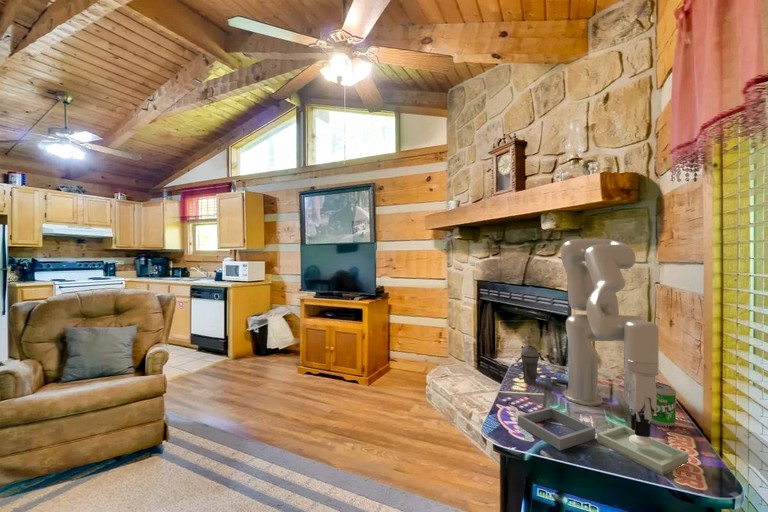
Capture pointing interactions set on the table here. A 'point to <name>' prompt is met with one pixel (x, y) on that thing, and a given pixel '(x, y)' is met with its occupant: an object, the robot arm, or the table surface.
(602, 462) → the table surface
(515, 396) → the table surface
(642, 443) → the chess piece
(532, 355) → the beverage cup
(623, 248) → the robot arm
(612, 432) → the tray
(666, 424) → the soda can
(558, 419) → the shallow grey bin
